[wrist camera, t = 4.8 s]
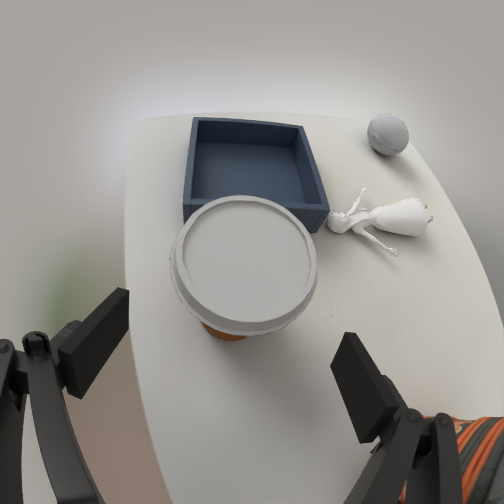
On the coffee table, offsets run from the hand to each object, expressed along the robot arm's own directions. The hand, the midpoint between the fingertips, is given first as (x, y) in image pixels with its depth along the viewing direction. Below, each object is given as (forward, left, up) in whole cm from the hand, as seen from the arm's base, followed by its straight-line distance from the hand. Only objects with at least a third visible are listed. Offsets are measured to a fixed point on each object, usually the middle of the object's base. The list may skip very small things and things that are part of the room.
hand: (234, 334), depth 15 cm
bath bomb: (+30, +34, -11) cm, 46 cm away
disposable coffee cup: (+1, +5, -11) cm, 12 cm away
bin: (+4, +22, -10) cm, 24 cm away
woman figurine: (+22, +16, -11) cm, 29 cm away
